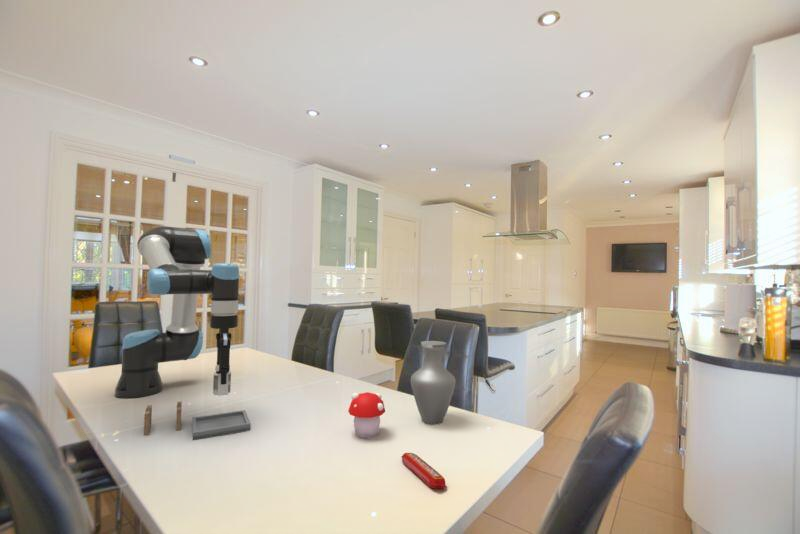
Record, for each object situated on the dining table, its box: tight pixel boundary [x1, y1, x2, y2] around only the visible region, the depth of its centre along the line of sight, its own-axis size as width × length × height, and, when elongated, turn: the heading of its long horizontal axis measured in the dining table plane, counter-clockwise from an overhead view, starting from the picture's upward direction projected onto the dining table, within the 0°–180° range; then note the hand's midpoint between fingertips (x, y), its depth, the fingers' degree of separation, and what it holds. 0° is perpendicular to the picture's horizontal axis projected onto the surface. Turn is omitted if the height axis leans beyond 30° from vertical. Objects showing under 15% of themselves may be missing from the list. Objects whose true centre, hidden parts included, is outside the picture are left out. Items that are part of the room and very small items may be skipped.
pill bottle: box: [212, 363, 232, 396], centre depth 114 cm, size 5×5×8 cm
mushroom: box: [347, 391, 386, 439], centre depth 111 cm, size 11×11×12 cm
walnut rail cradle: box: [143, 401, 183, 436], centre depth 113 cm, size 8×9×6 cm
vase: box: [410, 340, 457, 425], centre depth 123 cm, size 14×14×25 cm
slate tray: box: [191, 409, 252, 441], centre depth 114 cm, size 13×15×2 cm
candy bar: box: [401, 452, 448, 489], centre depth 89 cm, size 16×4×3 cm, turn 28°
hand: (222, 392), depth 114 cm, fingers closed on pill bottle, 5 cm apart
